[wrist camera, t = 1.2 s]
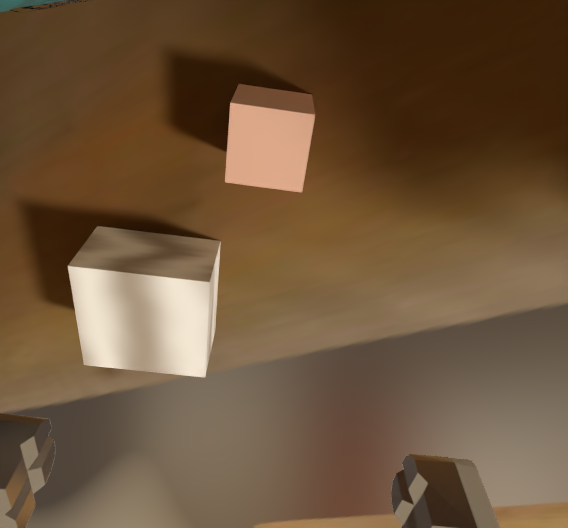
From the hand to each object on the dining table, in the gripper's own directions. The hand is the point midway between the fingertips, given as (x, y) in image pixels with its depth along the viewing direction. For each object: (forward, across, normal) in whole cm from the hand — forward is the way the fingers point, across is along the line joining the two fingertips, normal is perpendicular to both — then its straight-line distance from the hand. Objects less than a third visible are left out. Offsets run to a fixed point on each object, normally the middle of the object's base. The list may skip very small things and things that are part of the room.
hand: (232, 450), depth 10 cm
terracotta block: (+26, 0, 0) cm, 26 cm away
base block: (+26, +7, +15) cm, 31 cm away
